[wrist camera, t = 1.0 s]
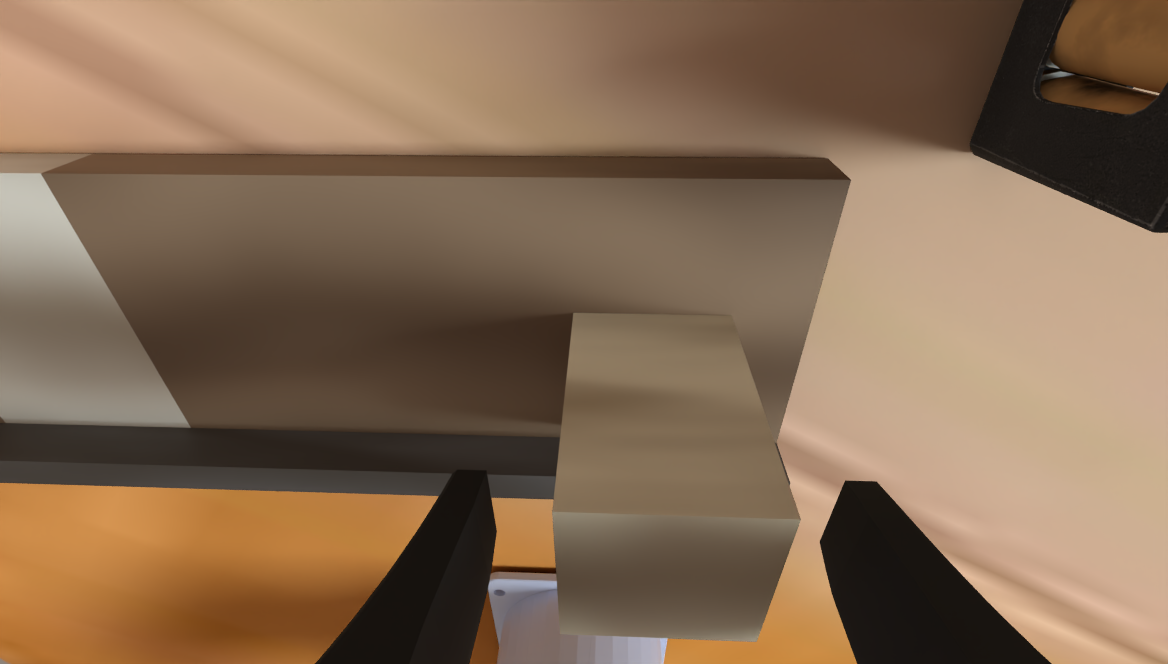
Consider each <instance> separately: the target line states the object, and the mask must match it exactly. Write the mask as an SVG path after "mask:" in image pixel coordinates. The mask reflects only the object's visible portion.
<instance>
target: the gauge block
mask: <svg viewBox="0 0 1168 664" xmlns="http://www.w3.org/2000/svg"><path fill="white" fill-rule="evenodd" d="M552 515H553V531H554V546H555V562H556V578H557V594H558V610H559V626H560V634H569V635H595V636H620V637H645V638H671V639H696V640H721V641H747V642H757V639H758V636H759V634H760V631H761V628H762V625H763V623H764V620H765V617H766V614H767V611H768V609H769V606H770V603H771V600H772V598H773V595H774V592H775V589H776V587H777V584H778V581H779V578H780V576H781V573H782V570H783V567H784V565H785V562H786V559H787V556H788V554H789V551H790V548H791V545H792V543H793V540H794V537H795V534H796V532H797V529H798V526H799V523H800V520H801V519H800V516H799V513H798V510H797V507H796V504H795V501H794V498H793V495H792V492H791V489H790V486H789V483H788V480H787V477H786V474H785V471H784V469H783V466H782V463H781V460H780V457H779V454H778V451H777V448H776V445H775V442H774V439H773V436H772V433H771V430H770V427H769V424H768V421H767V418H766V415H765V412H764V410H763V407H762V404H761V401H760V398H759V395H758V392H757V389H756V386H755V383H754V380H753V377H752V374H751V371H750V368H749V365H748V362H747V359H746V356H745V353H744V351H743V348H742V345H741V342H740V339H739V336H738V333H737V330H736V327H735V324H734V321H733V318H732V316H727V315H669V314H611V313H573V321H572V330H571V340H570V349H569V359H568V368H567V378H566V387H565V397H564V406H563V416H562V425H561V434H560V444H559V453H558V463H557V472H556V482H555V491H554V501H553V510H552Z"/></svg>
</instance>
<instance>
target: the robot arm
mask: <svg viewBox="0 0 1168 664" xmlns="http://www.w3.org/2000/svg"><path fill="white" fill-rule="evenodd" d="M496 532H497V530H496V524H495V518H494V512H493V506H492V500H491V494H490V488H489V482H488V476H487V470H456V471H455V472H453V473H452V475H451V477H450V478H449V480H448V482H447V484H446V485H445V487H444V489H443V491H442V492H441V494H440V496H439V497H438V499H437V501H436V502H435V504H434V505H433V507H432V509H431V510H430V512H429V513H428V515H427V516H426V518H425V520H424V521H423V523H422V524H421V526H420V527H419V529H418V530H417V532H416V533H415V535H414V536H413V538H412V539H411V541H410V542H409V543H408V545H407V546H406V548H405V549H404V551H403V552H402V554H401V555H400V556H399V558H398V559H397V561H396V562H395V564H394V565H393V567H392V568H391V569H390V571H389V572H388V573H387V575H386V576H385V578H384V579H383V580H382V581H381V583H380V584H379V585H378V587H377V588H376V589H375V591H374V592H373V593H372V595H371V596H370V597H369V599H368V600H367V601H366V602H365V604H364V605H363V606H362V608H361V609H360V610H359V612H358V613H357V614H356V615H355V617H354V618H353V619H352V620H351V622H350V623H349V624H348V625H347V627H346V628H345V629H344V630H343V632H342V633H341V634H340V635H339V636H338V638H337V639H336V640H335V641H334V642H333V644H332V645H331V646H330V647H329V648H328V649H327V651H326V652H325V653H324V654H323V655H322V656H321V657H320V659H319V660H318V661H317V662H316V663H315V664H469V662H470V658H471V654H472V650H473V646H474V642H475V638H476V635H477V631H478V627H479V623H480V618H481V614H482V610H483V606H484V602H485V598H486V594H487V590H488V593H489V598H490V603H491V608H492V613H493V618H494V623H495V628H496V633H497V638H498V643H499V652H498V659H497V664H663V662H664V656H665V650H666V644H667V639H668V638H645V637H620V636H595V635H569V634H560V626H559V610H558V594H557V578H556V574H549V573H521V572H494V573H491V568H492V561H493V554H494V547H495V540H496ZM820 545H821V550H822V554H823V559H824V563H825V568H826V572H827V576H828V580H829V584H830V588H831V592H832V595H833V598H834V601H835V604H836V607H837V609H838V612H839V615H840V618H841V620H842V623H843V626H844V629H845V631H846V634H847V637H848V640H849V642H850V645H851V648H852V651H853V653H854V656H855V659H856V661H857V664H1051V663H1050V662H1049V661H1048V660H1047V659H1046V658H1045V657H1044V656H1043V655H1042V654H1040V653H1039V652H1038V651H1037V650H1036V649H1035V648H1034V647H1033V646H1032V645H1031V644H1030V643H1029V642H1028V641H1027V640H1026V639H1025V638H1024V637H1023V636H1022V635H1021V634H1020V633H1019V632H1018V631H1017V630H1016V629H1015V628H1014V627H1012V626H1011V625H1010V624H1009V623H1008V622H1007V621H1006V620H1005V619H1004V618H1003V617H1002V616H1001V615H1000V614H999V613H998V612H997V611H996V610H995V609H994V608H993V607H992V606H991V605H990V604H989V603H988V602H987V601H986V600H985V599H984V598H983V597H982V595H981V594H980V593H979V592H978V591H977V590H976V589H975V588H974V587H973V586H972V585H971V584H970V583H969V582H968V581H967V580H966V579H965V578H964V577H963V576H962V575H961V573H960V572H959V571H958V570H957V569H956V568H955V567H954V566H953V565H952V564H951V563H950V562H949V561H948V560H947V559H946V558H945V556H944V555H943V554H942V553H941V552H940V551H939V550H938V549H937V548H936V547H935V546H934V545H933V543H932V542H931V541H930V540H929V539H928V538H927V537H926V536H925V535H924V534H923V532H922V531H921V530H920V529H919V528H918V527H917V526H916V525H915V524H914V522H913V521H912V520H911V519H910V518H909V517H908V516H907V515H906V514H905V512H904V511H903V510H902V509H901V508H900V507H899V506H898V505H897V504H896V502H895V501H894V500H893V499H892V498H891V497H890V496H889V495H888V494H887V493H886V491H885V490H884V489H883V488H882V487H881V486H880V485H879V484H878V483H877V482H873V481H845V482H844V485H843V487H842V490H841V492H840V494H839V497H838V499H837V502H836V504H835V506H834V509H833V511H832V514H831V516H830V518H829V521H828V523H827V526H826V528H825V530H824V533H823V535H822V538H821V540H820Z"/></svg>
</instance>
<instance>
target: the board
mask: <svg viewBox="0 0 1168 664" xmlns="http://www.w3.org/2000/svg"><path fill="white" fill-rule="evenodd" d="M850 181H851V179H849V178H848V177H847V176H846V175H845V174H844V173H843V172H842V171H841V170H840V169H839V168H838V167H836V166H835V165H834V164H833V163H832V162H831V161H830V160H829V159H828V158H686V157H531V156H376V155H221V154H66V153H0V483H28V484H61V485H94V486H127V487H160V488H194V489H227V490H260V491H293V492H326V493H359V494H393V495H426V496H440V494H441V492H442V491H443V489H444V487H445V485H446V484H447V482H448V480H449V478H450V477H451V475H452V473H453V472H455V471H456V470H487V476H488V482H489V488H490V494H491V497H492V498H525V499H554V491H555V482H556V472H557V463H558V453H559V444H560V434H561V425H562V416H563V406H564V397H565V387H566V378H567V368H568V359H569V349H570V340H571V330H572V321H573V313H611V314H669V315H727V316H732V318H733V321H734V324H735V327H736V330H737V333H738V336H739V339H740V342H741V345H742V348H743V351H744V353H745V356H746V359H747V362H748V365H749V368H750V371H751V374H752V377H753V380H754V383H755V386H756V389H757V392H758V395H759V398H760V401H761V404H762V407H763V410H764V412H765V415H766V418H767V421H768V424H769V427H770V430H771V433H772V436H773V439H774V442H775V445H776V448H777V451H778V454H779V457H780V460H781V463H782V466H783V469H784V471H785V474H786V477H787V480H788V483H789V485H790V481H789V478H788V475H787V473H786V470H785V467H784V464H783V461H782V458H781V455H780V452H779V449H778V446H777V439H778V436H779V432H780V428H781V425H782V421H783V418H784V414H785V411H786V407H787V404H788V400H789V397H790V393H791V390H792V386H793V383H794V379H795V376H796V372H797V368H798V365H799V361H800V358H801V354H802V351H803V347H804V344H805V340H806V337H807V333H808V330H809V326H810V323H811V319H812V316H813V312H814V308H815V305H816V301H817V298H818V294H819V291H820V287H821V284H822V280H823V277H824V273H825V270H826V266H827V263H828V259H829V256H830V252H831V248H832V245H833V241H834V238H835V234H836V231H837V227H838V224H839V220H840V217H841V213H842V210H843V206H844V203H845V199H846V196H847V192H848V188H849V185H850Z"/></svg>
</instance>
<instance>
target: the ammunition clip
mask: <svg viewBox="0 0 1168 664" xmlns="http://www.w3.org/2000/svg"><path fill="white" fill-rule="evenodd" d="M1133 87H1136V88H1140V89H1144V90H1149V91H1153V92H1157V93H1160V94H1159V96H1158V95H1155V94H1151V93H1147V92H1143V91H1139V90H1135V89H1133ZM970 147H971V150H972V152H973V154H974V155H976V156H978V157H980V158H983V159H985V160H987V161H990V162H992V163H994V164H997V165H999V166H1001V167H1004V168H1006V169H1008V170H1010V171H1013V172H1015V173H1017V174H1020V175H1022V176H1024V177H1027V178H1029V179H1031V180H1034V181H1036V182H1038V183H1040V184H1043V185H1045V186H1047V187H1050V188H1052V189H1054V190H1057V191H1059V192H1061V193H1064V194H1066V195H1068V196H1070V197H1073V198H1075V199H1077V200H1080V201H1082V202H1084V203H1087V204H1089V205H1091V206H1094V207H1096V208H1098V209H1100V210H1103V211H1105V212H1107V213H1110V214H1112V215H1114V216H1117V217H1119V218H1121V219H1123V220H1126V221H1128V222H1130V223H1133V224H1135V225H1137V226H1140V227H1142V228H1144V229H1147V230H1149V231H1151V232H1157V233H1168V0H1024V1H1023V4H1022V7H1021V9H1020V12H1019V14H1018V17H1017V20H1016V22H1015V25H1014V28H1013V30H1012V33H1011V36H1010V38H1009V41H1008V44H1007V46H1006V49H1005V51H1004V54H1003V57H1002V59H1001V62H1000V65H999V67H998V70H997V73H996V75H995V78H994V81H993V83H992V86H991V88H990V91H989V94H988V96H987V99H986V102H985V104H984V107H983V110H982V112H981V115H980V118H979V120H978V123H977V125H976V128H975V131H974V133H973V136H972V139H971V141H970Z"/></svg>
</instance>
